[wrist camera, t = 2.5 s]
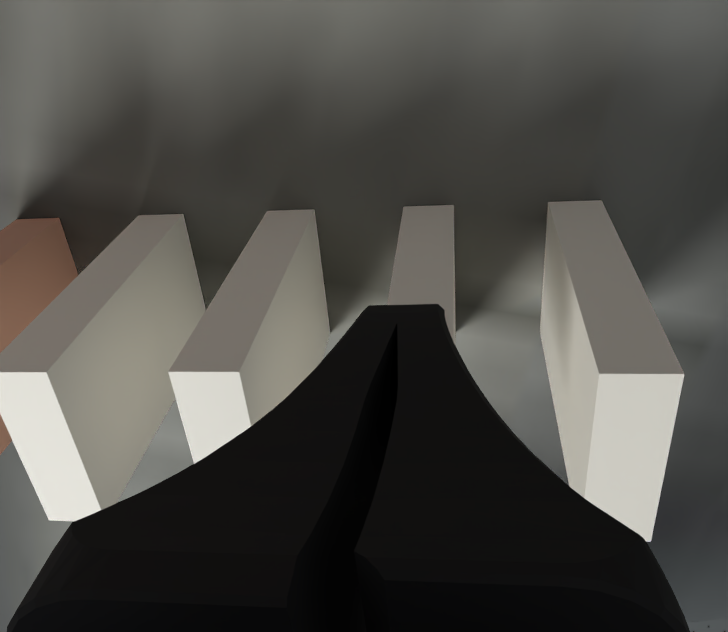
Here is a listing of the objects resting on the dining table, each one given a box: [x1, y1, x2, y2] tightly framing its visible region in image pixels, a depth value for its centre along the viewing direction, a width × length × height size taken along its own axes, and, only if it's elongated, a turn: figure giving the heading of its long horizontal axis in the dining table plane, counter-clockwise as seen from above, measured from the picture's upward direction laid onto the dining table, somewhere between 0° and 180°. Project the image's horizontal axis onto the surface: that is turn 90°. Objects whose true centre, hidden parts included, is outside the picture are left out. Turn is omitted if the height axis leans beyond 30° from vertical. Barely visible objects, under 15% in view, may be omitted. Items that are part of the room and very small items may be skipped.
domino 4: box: [0, 214, 206, 521], centre depth 20 cm, size 2×5×9 cm, turn 4°
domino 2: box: [387, 205, 456, 346], centre depth 19 cm, size 2×5×9 cm, turn 5°
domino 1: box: [540, 200, 684, 542], centre depth 18 cm, size 2×5×9 cm, turn 5°
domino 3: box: [168, 209, 330, 464], centre depth 20 cm, size 2×5×9 cm, turn 4°
